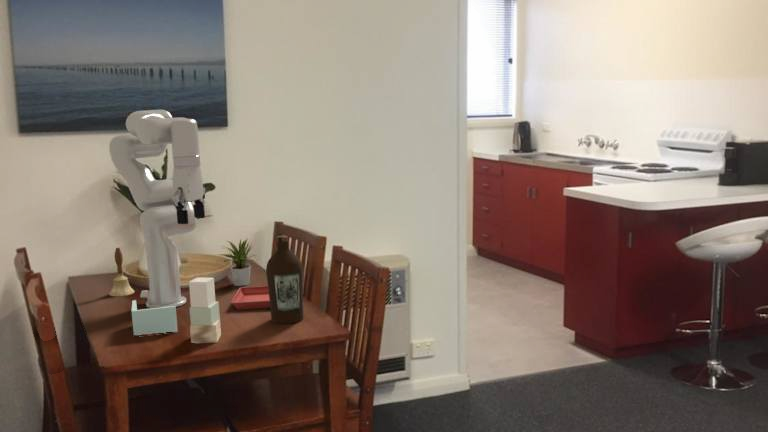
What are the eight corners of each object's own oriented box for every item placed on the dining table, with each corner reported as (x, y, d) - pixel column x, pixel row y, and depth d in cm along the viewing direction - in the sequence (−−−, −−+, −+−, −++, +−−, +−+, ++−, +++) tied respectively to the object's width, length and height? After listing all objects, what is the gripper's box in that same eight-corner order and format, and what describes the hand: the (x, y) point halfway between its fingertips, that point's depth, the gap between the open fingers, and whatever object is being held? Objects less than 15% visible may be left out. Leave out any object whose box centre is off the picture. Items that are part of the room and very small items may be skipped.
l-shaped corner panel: (177, 331, 229) (175, 306, 228) (134, 337, 226) (131, 311, 225) (176, 320, 241) (174, 296, 239) (134, 325, 237) (132, 300, 236)
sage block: (190, 325, 219) (189, 307, 218) (199, 318, 224) (197, 301, 224) (211, 325, 218) (210, 307, 217) (219, 318, 223) (218, 301, 223)
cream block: (191, 306, 218) (189, 282, 217) (198, 301, 223) (196, 277, 222) (208, 307, 217) (206, 282, 216) (215, 302, 222) (213, 277, 221)
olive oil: (267, 316, 240) (261, 234, 236) (302, 312, 243) (297, 231, 239) (272, 326, 230) (266, 241, 226) (308, 322, 233) (303, 238, 229)
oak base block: (191, 344, 218) (189, 326, 217) (196, 336, 225) (194, 318, 224) (217, 342, 219) (215, 325, 218) (221, 334, 226) (219, 317, 225)
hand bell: (139, 291, 275) (135, 246, 273) (120, 297, 269) (115, 251, 266) (123, 289, 280) (119, 244, 277) (103, 295, 273) (99, 249, 270)
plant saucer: (231, 312, 248) (230, 301, 247) (240, 296, 266) (239, 286, 265) (289, 309, 248) (289, 299, 248) (295, 294, 266) (294, 284, 265)
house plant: (228, 278, 289) (225, 233, 287) (266, 277, 288) (263, 233, 285) (215, 288, 276) (211, 242, 273) (254, 288, 274) (251, 241, 271)
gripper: (190, 159, 240) (194, 215, 243) (159, 165, 224) (164, 226, 227) (212, 158, 238) (217, 215, 241) (183, 165, 222) (188, 226, 225)
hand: (191, 220), depth 234 cm, fingers open, 9 cm apart
